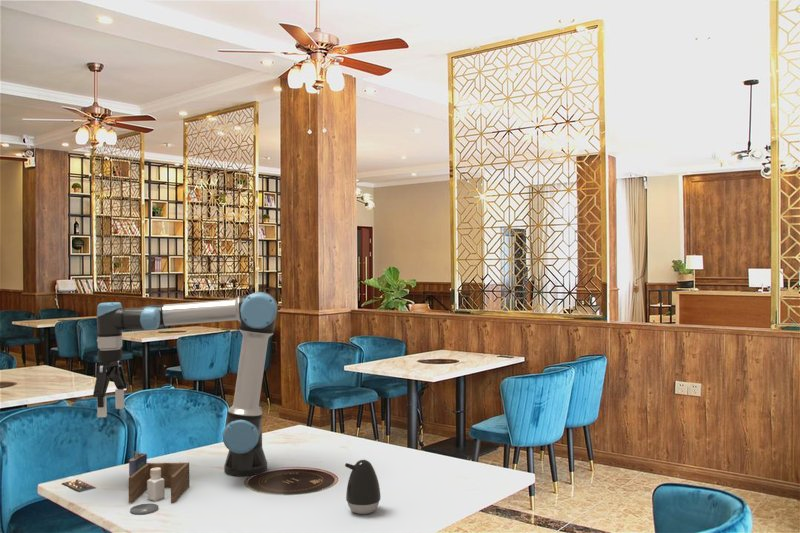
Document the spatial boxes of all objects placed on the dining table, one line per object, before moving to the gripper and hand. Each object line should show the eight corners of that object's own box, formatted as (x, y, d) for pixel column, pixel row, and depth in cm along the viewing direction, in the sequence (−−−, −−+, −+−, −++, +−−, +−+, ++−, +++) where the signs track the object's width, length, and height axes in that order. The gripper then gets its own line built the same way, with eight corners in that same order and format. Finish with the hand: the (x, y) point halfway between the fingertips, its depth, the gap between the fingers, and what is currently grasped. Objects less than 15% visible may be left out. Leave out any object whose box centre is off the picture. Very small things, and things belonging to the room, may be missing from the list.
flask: (134, 487, 227) (134, 455, 227) (126, 487, 228) (125, 454, 228) (148, 479, 236) (148, 448, 236) (140, 478, 237) (140, 447, 237)
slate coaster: (162, 505, 209) (162, 503, 209) (153, 514, 201) (153, 512, 201) (136, 505, 209) (136, 503, 209) (125, 514, 201) (125, 512, 201)
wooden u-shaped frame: (189, 486, 227) (189, 462, 227) (174, 502, 211) (173, 477, 211) (147, 487, 227) (147, 463, 227) (128, 503, 211) (128, 477, 211)
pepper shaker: (154, 501, 212) (154, 471, 212) (146, 499, 214) (146, 469, 214) (165, 498, 216) (165, 468, 216) (156, 496, 218) (156, 466, 218)
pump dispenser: (345, 506, 207) (344, 455, 207) (379, 504, 207) (379, 454, 208) (345, 518, 196) (345, 465, 196) (381, 516, 197) (381, 464, 197)
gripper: (114, 344, 239) (116, 405, 239) (80, 353, 214) (82, 421, 214) (136, 344, 239) (137, 405, 239) (104, 353, 214) (105, 420, 214)
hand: (111, 412), depth 227 cm, fingers open, 13 cm apart
